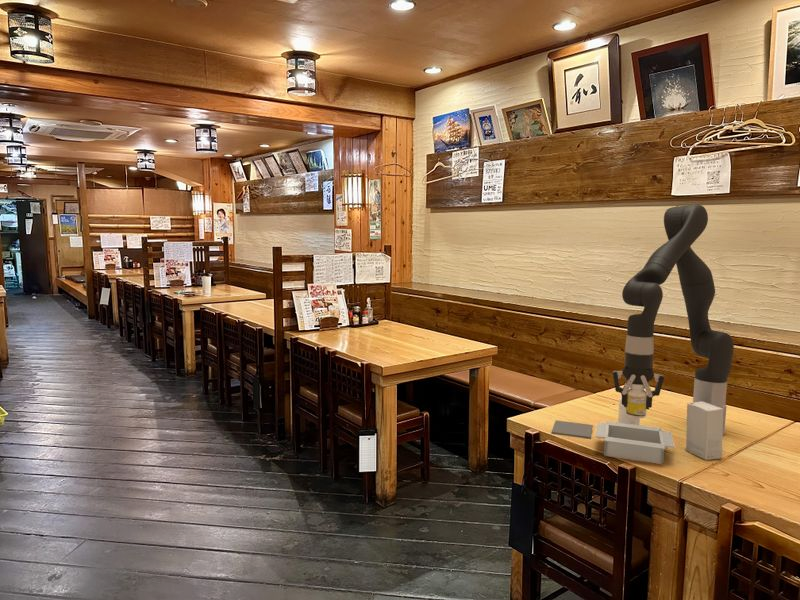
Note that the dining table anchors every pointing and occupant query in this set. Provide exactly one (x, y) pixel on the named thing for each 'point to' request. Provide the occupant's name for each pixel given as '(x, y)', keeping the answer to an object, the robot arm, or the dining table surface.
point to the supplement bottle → (636, 401)
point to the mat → (572, 429)
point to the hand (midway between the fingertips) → (636, 407)
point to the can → (624, 417)
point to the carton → (634, 441)
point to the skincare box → (704, 430)
